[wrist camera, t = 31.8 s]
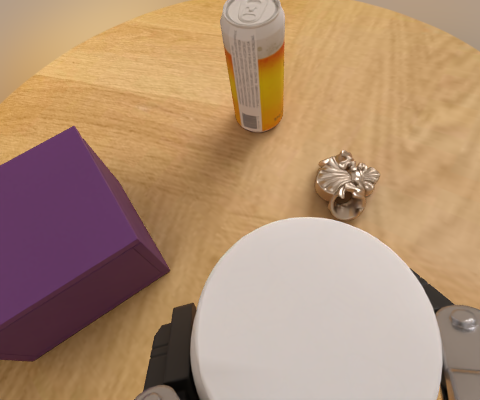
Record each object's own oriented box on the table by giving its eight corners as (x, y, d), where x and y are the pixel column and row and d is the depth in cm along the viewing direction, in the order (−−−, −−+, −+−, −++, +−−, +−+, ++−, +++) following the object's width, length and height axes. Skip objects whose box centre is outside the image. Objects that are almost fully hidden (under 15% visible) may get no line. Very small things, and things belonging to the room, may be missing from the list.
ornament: (385, 217, 37) (396, 201, 33) (321, 225, 37) (325, 211, 34) (365, 155, 40) (373, 136, 37) (307, 163, 41) (309, 145, 37)
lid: (-77, 214, 32) (-85, 211, 31) (77, 130, 34) (73, 125, 34) (-42, 357, 26) (-51, 357, 25) (141, 242, 29) (137, 238, 28)
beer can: (286, 101, 45) (290, -12, 32) (277, 138, 43) (277, 31, 29) (242, 96, 46) (227, -15, 33) (231, 132, 44) (210, 26, 31)
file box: (-3, 253, 39) (-72, 222, 32) (119, 182, 42) (82, 138, 34) (32, 361, 34) (-42, 357, 26) (170, 270, 36) (141, 242, 29)
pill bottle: (216, 303, 18) (146, 210, 8) (333, 280, 18) (406, 160, 8) (236, 447, 15) (162, 582, 5) (376, 420, 15) (573, 503, 5)
